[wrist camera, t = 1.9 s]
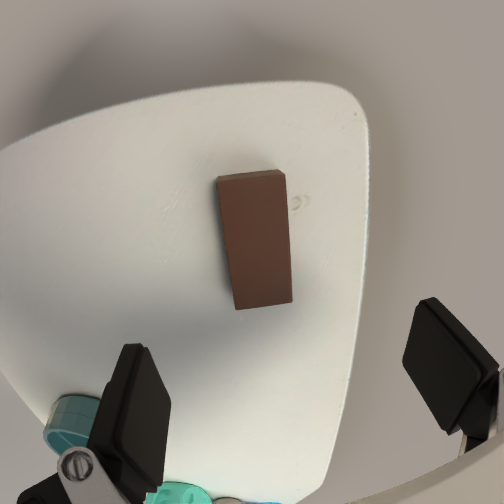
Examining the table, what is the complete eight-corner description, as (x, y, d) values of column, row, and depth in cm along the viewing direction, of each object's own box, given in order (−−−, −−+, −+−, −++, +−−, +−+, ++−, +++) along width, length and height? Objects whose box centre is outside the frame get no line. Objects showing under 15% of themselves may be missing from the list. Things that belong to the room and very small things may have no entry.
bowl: (44, 409, 25) (32, 440, 20) (80, 378, 22) (64, 417, 18) (118, 454, 29) (113, 484, 24) (171, 433, 27) (167, 471, 22)
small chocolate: (216, 176, 16) (216, 182, 15) (279, 169, 17) (285, 174, 15) (234, 295, 20) (235, 310, 18) (287, 288, 20) (292, 302, 18)
